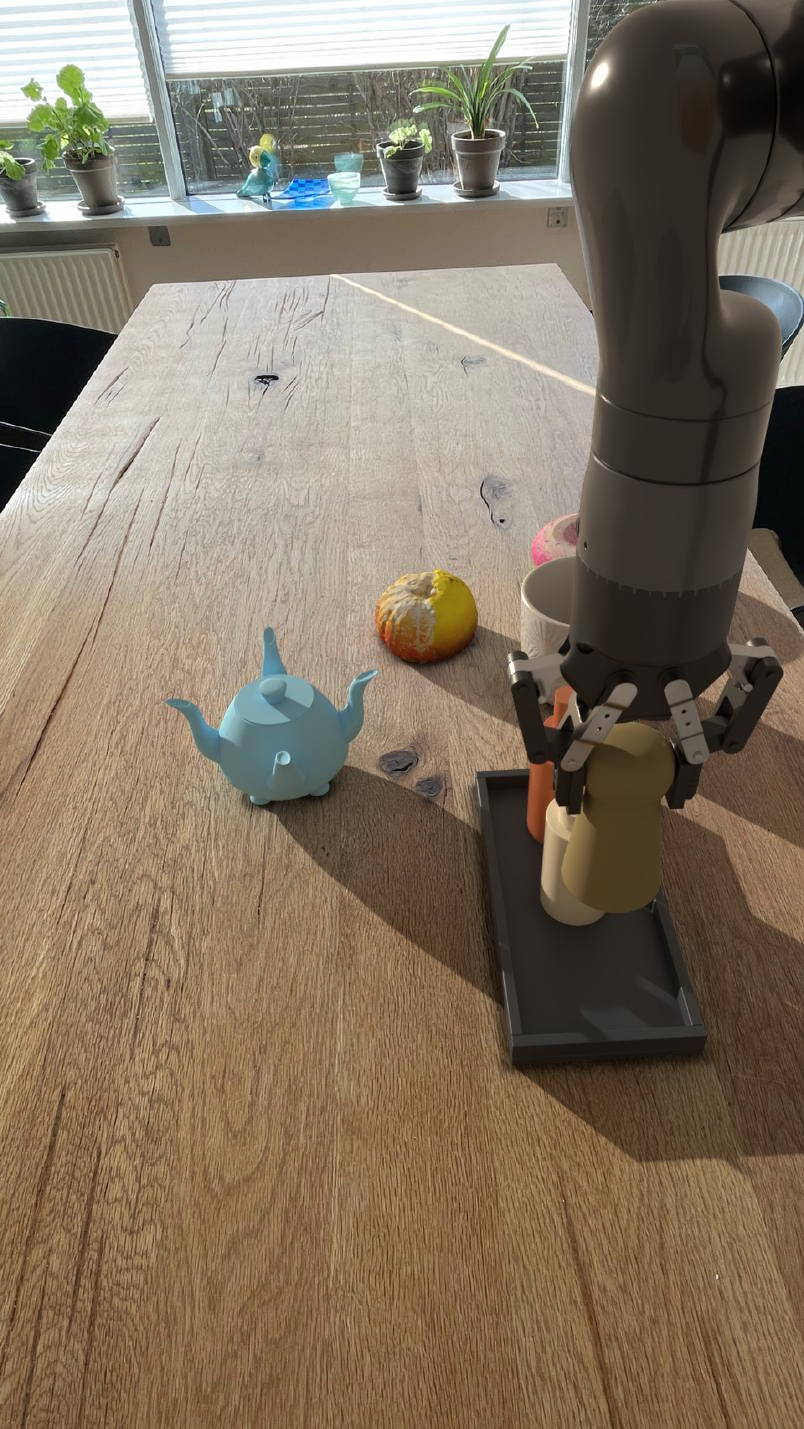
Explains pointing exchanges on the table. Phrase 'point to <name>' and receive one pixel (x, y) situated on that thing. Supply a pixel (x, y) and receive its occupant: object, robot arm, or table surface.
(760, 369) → the robot arm
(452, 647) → the fruit
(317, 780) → the teapot
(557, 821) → the cream bottle
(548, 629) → the planter
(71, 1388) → the table surface
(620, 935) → the tray
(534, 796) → the terracotta bottle
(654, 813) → the pepper shaker
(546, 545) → the donut
